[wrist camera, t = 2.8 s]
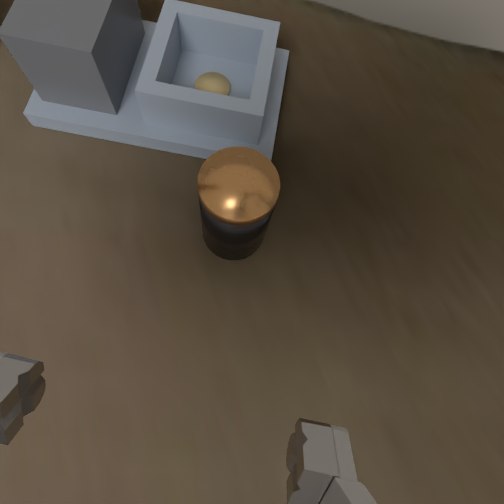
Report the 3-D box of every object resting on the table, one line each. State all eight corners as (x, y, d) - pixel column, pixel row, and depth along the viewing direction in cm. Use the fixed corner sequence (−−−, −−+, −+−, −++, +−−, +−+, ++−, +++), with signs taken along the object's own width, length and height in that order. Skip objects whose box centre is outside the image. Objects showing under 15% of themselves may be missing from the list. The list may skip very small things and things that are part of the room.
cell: (267, 209, 28) (285, 154, 21) (258, 265, 27) (274, 227, 19) (209, 199, 28) (206, 139, 21) (197, 254, 27) (189, 211, 19)
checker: (286, 63, 33) (305, -18, 26) (268, 171, 29) (284, 110, 22) (78, 20, 32) (38, -76, 25) (32, 125, 29) (-29, 47, 21)
